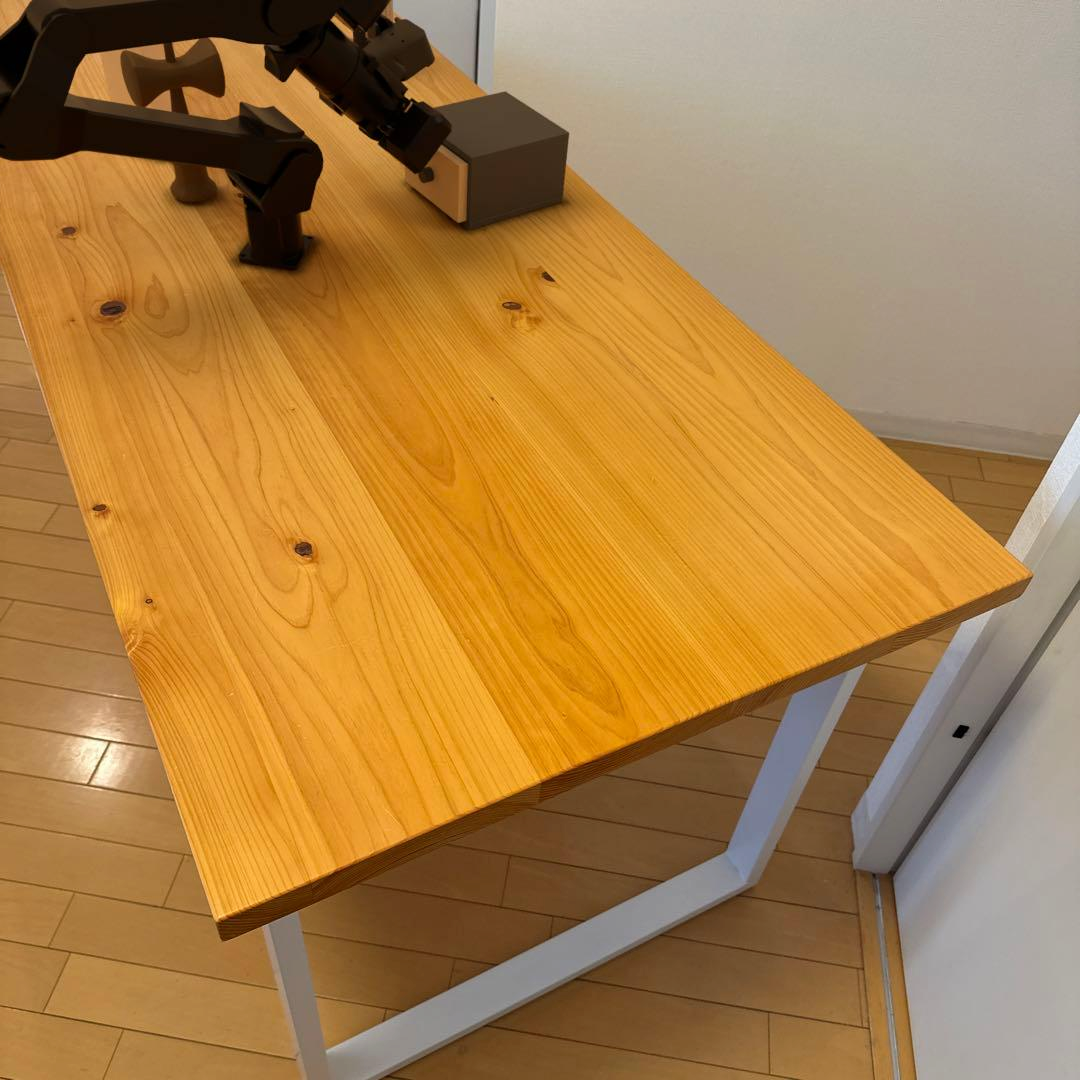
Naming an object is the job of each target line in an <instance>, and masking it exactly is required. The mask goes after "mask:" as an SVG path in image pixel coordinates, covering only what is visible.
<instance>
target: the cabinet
mask: <svg viewBox="0 0 1080 1080" xmlns="http://www.w3.org/2000/svg"><path fill="white" fill-rule="evenodd" d="M433 108H434V109H435V110H437V111H438V112H440V113H441V114H442V115H443V116H444V117H445V118H446V119H447V120H448V121H449V122H450V123H451V124H452V131H451V133H450V134H449V135H448V137H447V138H446V139H445V141H444V142H443V143H442V144H444V145H445V146H447V147H448V148H449V149H451V150H452V151H453V152H455V153H456V154H457V155H459V156H460V157H462V158H463V159H464V160H466V161H467V162H468V180H467V214H466V221H463V222H460V224H461V225H462V226H464V227H465V228H466V229H468V230H470V231H471V230H474V229H477V228H481V227H484V226H487V225H490V224H494V223H498V222H501V221H503V220H507V219H511V218H515V217H517V216H521V215H524V214H528V213H531V212H534V211H537V210H541V209H543V208H544V209H545V208H548V207H550V206H554V205H557V204H561V203H563V198H564V190H565V179H566V169H567V159H568V150H569V140H570V132H569V131H567V130H566V129H565V128H563V127H562V126H560V125H559V124H557V123H556V122H554V121H553V120H551V119H549V118H548V117H546V116H545V115H543V114H541V113H540V112H538V111H536V110H535V109H534V108H532V107H530V106H529V105H528V104H527V103H524V102H523V101H522V100H520V99H518V98H517V97H515V96H513V95H512V94H511V93H509V92H508V91H501V92H496V93H492V94H488V95H483V96H479V97H474V98H470V99H466V100H460V101H456V102H451V103H448V104H444V105H439V106H434V107H433Z"/></svg>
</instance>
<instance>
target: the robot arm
mask: <svg viewBox="0 0 1080 1080" xmlns="http://www.w3.org/2000/svg"><path fill="white" fill-rule="evenodd" d="M390 1H391V0H31V1H29V2H28V4H27V5H26V7H25V9H24V10H23V12H22V14H21V15H20V16H19V18H18V20H17V21H15V22H14V23H13V24H12V25H11V26H9V28H7V29H6V30H5V31H3V32H2V33H1V34H0V158H1V159H3V160H7V161H10V162H35V161H36V162H37V161H38V162H39V161H54V160H59V159H61V158H64V157H67V156H71V155H74V154H77V153H81V152H89V153H96V154H97V153H98V154H107V155H113V156H120V157H130V158H136V159H144V160H151V161H157V162H158V161H159V162H166V163H170V162H174V163H181V164H189V165H196V166H204V167H207V168H211V169H212V168H213V169H220V170H221V169H222V170H224V172H225V175H226V176H227V178H228V180H229V181H230V183H231V185H232V186H233V187H234V188H236V189H237V190H238V191H239V192H241V194H242V195H243V196H242V203H243V211H244V217H245V225H246V226H245V227H246V233H247V238H248V241H247V242H246V244H245V245H244V247H243V248H242V249H241V250H240V252H239V254H238V255H237V259H238V261H239V262H243V263H248V264H254V265H261V266H266V267H273V268H280V269H285V270H291V271H296V270H298V269H299V267H300V266H301V264H302V263H303V261H304V260H305V258H306V256H307V255H308V253H309V252H310V250H311V249H312V247H313V245H314V244H315V242H316V238H315V236H313V235H308V234H304V233H303V231H304V230H303V223H302V222H303V221H302V213H305V212H309V211H310V210H311V208H312V203H313V201H314V200H313V199H314V195H315V193H316V192H315V191H316V187H317V183H318V180H319V179H320V178H321V175H322V172H323V171H324V163H325V162H324V161H325V159H324V156H323V151H322V149H321V148H320V146H319V144H317V142H316V141H314V140H313V138H310V137H309V136H308V135H307V134H306V131H305V130H303V129H302V128H301V127H300V126H298V125H297V124H296V123H295V122H294V121H293V120H291V119H290V118H289V117H288V116H286V115H285V114H284V113H283V112H282V111H281V110H279V109H278V108H277V107H276V106H275V105H271V106H267V107H261V106H257V105H256V106H255V105H253V104H251V103H248V102H246V101H240V102H239V107H238V108H239V109H238V115H236V116H233V117H230V118H227V119H218V118H211V117H205V116H199V115H193V114H189V115H188V114H182V113H176V112H170V111H164V110H158V109H152V108H146V107H140V106H134V105H128V104H122V103H116V102H111V101H110V100H103V99H97V98H91V97H86V96H78V95H76V94H73V93H70V90H71V86H72V83H73V81H74V77H75V75H76V72H77V69H78V67H79V66H80V64H81V63H82V61H83V60H84V59H85V58H86V56H87V55H93V54H98V53H99V54H100V52H108V51H115V50H122V49H130V48H137V47H144V46H151V45H159V44H166V43H173V42H174V43H180V42H187V41H194V40H195V41H196V40H199V39H202V38H209V39H211V38H213V39H224V40H229V41H234V42H238V43H243V44H249V45H263V50H264V65H263V66H264V69H265V71H266V72H268V73H269V74H271V75H272V76H273V77H274V78H276V79H277V80H278V81H279V82H280V83H282V84H283V83H286V82H287V81H288V80H289V78H290V77H291V76H292V74H293V72H294V71H296V72H297V73H299V74H300V75H301V76H302V77H303V78H304V79H305V80H306V81H308V82H309V83H310V84H311V86H313V87H314V89H315V90H316V91H317V92H318V99H319V100H320V101H322V103H324V105H326V106H327V107H328V108H329V109H331V110H332V111H333V112H334V113H336V114H337V115H338V116H340V118H342V117H343V116H345V117H346V118H347V119H349V120H350V121H351V122H353V123H354V124H355V125H357V127H358V130H359V132H361V133H362V134H363V135H365V136H366V137H367V138H369V139H370V140H372V141H375V142H377V146H378V147H380V148H381V149H383V150H384V151H385V152H386V153H388V154H389V155H391V156H392V157H393V158H394V159H395V160H396V161H397V162H399V163H400V164H401V165H402V166H403V167H404V168H405V167H406V168H407V169H409V170H410V171H411V172H413V173H414V174H417V173H420V172H422V170H423V169H424V168H425V166H426V165H427V164H428V162H429V161H430V160H431V158H432V157H433V156H434V154H435V153H436V152H437V150H438V149H439V147H440V146H441V145H442V143H443V142H444V141H445V139H446V138H447V137H448V135H449V134H450V133H451V131H452V124H451V123H450V122H449V121H448V120H447V119H446V118H445V117H444V116H443V115H442V114H441V113H440V112H438V111H437V110H435V109H434V107H433V106H431V105H430V104H428V103H427V102H425V100H423V101H418V100H416V99H415V98H413V97H410V99H409V98H408V97H406V93H407V92H408V90H409V88H408V87H407V86H406V85H405V84H404V83H403V82H406V81H408V80H410V79H412V78H413V77H414V76H415V75H417V74H418V73H419V72H421V71H422V70H424V69H425V68H429V67H430V66H432V65H433V64H434V63H435V61H436V57H435V54H434V51H433V49H432V46H431V44H430V41H429V39H428V36H427V33H426V31H425V29H423V28H422V27H420V26H419V25H417V24H416V23H414V22H412V21H411V20H409V19H407V18H403V19H401V18H400V17H398V16H395V17H393V22H392V21H391V20H389V19H388V18H387V17H385V16H384V15H382V12H383V11H384V10H385V8H386V7H387V5H388V4H389V3H390ZM334 17H335V18H336V19H337V20H338V21H339V22H340V23H341V24H342V25H344V27H346V28H347V29H349V30H350V31H351V32H352V33H353V32H355V31H356V29H357V28H358V27H357V26H359V27H360V28H361V29H362V30H363V31H364V32H367V36H368V38H367V41H368V45H367V46H366V47H365V48H364V49H362V48H361V47H360V46H359V45H357V44H356V43H355V42H353V40H352V39H350V38H349V37H348V36H347V34H345V33H344V32H343V30H341V29H340V28H339V26H337V25H336V24H335V22H333V21H332V19H333V18H334Z"/></svg>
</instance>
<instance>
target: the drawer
mask: <svg viewBox="0 0 1080 1080" xmlns="http://www.w3.org/2000/svg"><path fill="white" fill-rule="evenodd" d="M467 180H468V162H467V161H466V160H464V159H463V158H462V157H460V156H459V155H457V154H456V153H455V152H453V151H452V150H451V149H449V148H448V147H447V146H445V145H444V144H442V145H441V146H440V147H439V149H438V150H437V152H436V153H435V154H434V156H433V157H432V158H431V160H430V161H429V162H428V164H427V165H426V166H425V168H424V169H423V170H422V172H420V173H417V174H414V173H413V172H411V171H410V170H409V169H407V168H406V167H405V166H404V181H405V182H406V183H407V184H409V186H410V187H412V188H413V189H415V190H416V191H417V192H418V193H420V194H421V195H422V196H423V197H425V198H426V199H427V200H428V201H429V202H431V203H432V204H434V205H435V206H436V207H437V208H438V209H440V210H441V211H442V212H443V213H445V214H446V215H447V216H448V217H450V218H451V219H452V220H453V221H455V222H456V223H458V224H459V223H460V222H463V221H466V214H467ZM460 224H461V223H460Z"/></svg>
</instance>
